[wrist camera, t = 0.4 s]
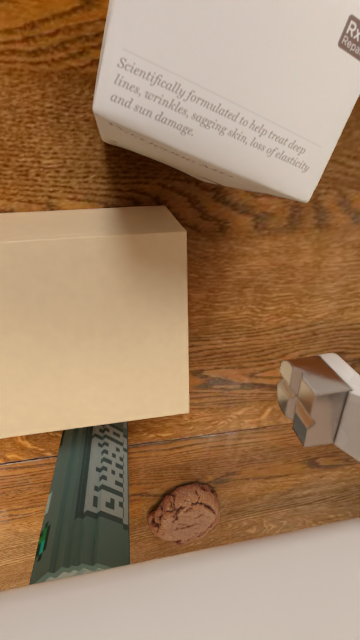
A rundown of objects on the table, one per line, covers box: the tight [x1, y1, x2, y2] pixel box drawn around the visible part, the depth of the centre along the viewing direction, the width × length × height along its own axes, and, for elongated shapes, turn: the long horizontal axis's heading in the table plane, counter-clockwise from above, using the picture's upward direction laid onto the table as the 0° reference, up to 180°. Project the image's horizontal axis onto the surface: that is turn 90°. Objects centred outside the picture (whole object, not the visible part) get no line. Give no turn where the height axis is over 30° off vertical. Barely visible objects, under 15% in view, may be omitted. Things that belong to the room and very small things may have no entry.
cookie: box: [148, 483, 220, 546], centre depth 42 cm, size 10×11×3 cm
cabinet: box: [0, 205, 189, 439], centre depth 22 cm, size 15×13×10 cm
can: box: [29, 421, 130, 585], centre depth 27 cm, size 6×6×15 cm
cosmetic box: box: [92, 0, 360, 203], centre depth 15 cm, size 8×6×15 cm
